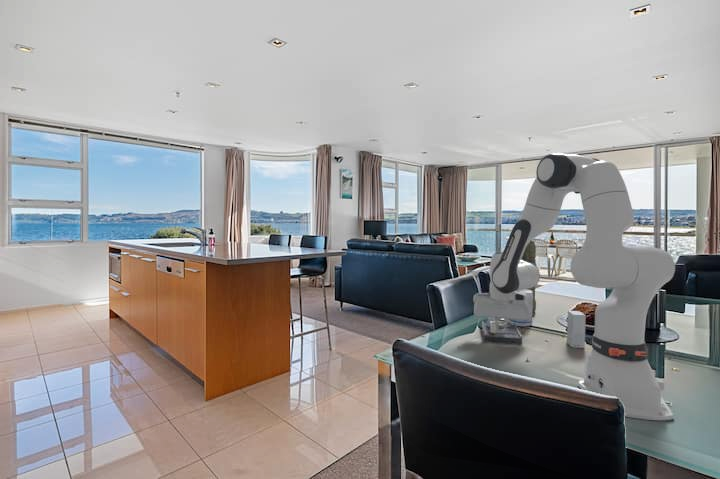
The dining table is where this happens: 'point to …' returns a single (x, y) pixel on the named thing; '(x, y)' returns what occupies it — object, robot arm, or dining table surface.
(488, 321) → the fader slate
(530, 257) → the green cactus
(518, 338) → the grey tray
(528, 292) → the supplement tub
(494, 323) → the fader ivory
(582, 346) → the skincare box
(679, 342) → the dining table surface
